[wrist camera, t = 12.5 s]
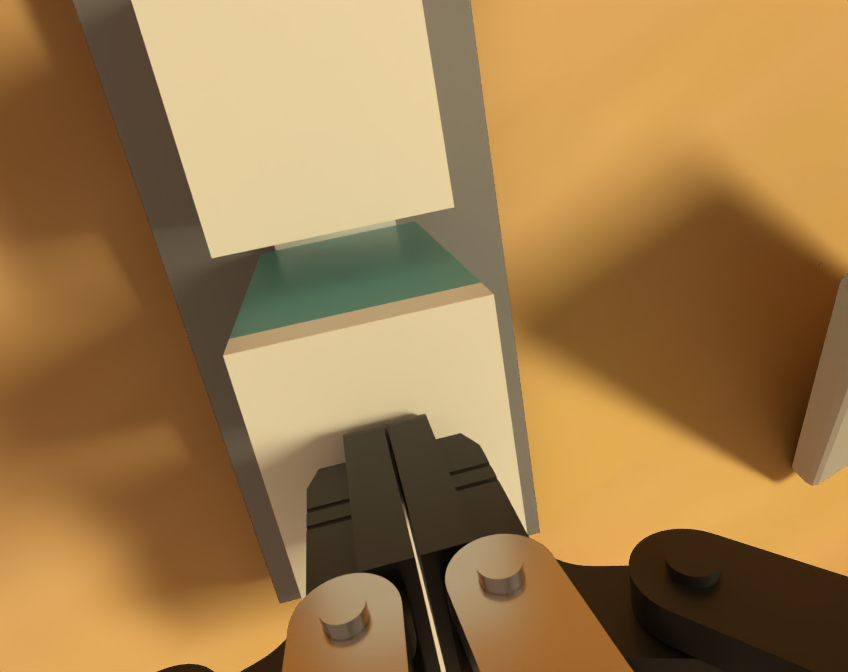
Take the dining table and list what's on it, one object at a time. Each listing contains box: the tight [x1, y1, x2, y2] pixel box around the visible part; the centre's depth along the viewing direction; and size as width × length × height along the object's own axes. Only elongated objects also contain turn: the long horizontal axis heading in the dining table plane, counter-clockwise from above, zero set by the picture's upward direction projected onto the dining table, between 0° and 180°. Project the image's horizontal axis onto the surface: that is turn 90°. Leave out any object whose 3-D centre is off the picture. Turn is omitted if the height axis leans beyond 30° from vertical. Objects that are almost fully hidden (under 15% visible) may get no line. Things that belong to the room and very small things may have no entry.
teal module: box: [223, 221, 527, 600], centre depth 14 cm, size 6×4×8 cm
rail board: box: [72, 0, 540, 672], centre depth 17 cm, size 22×10×7 cm, turn 10°
